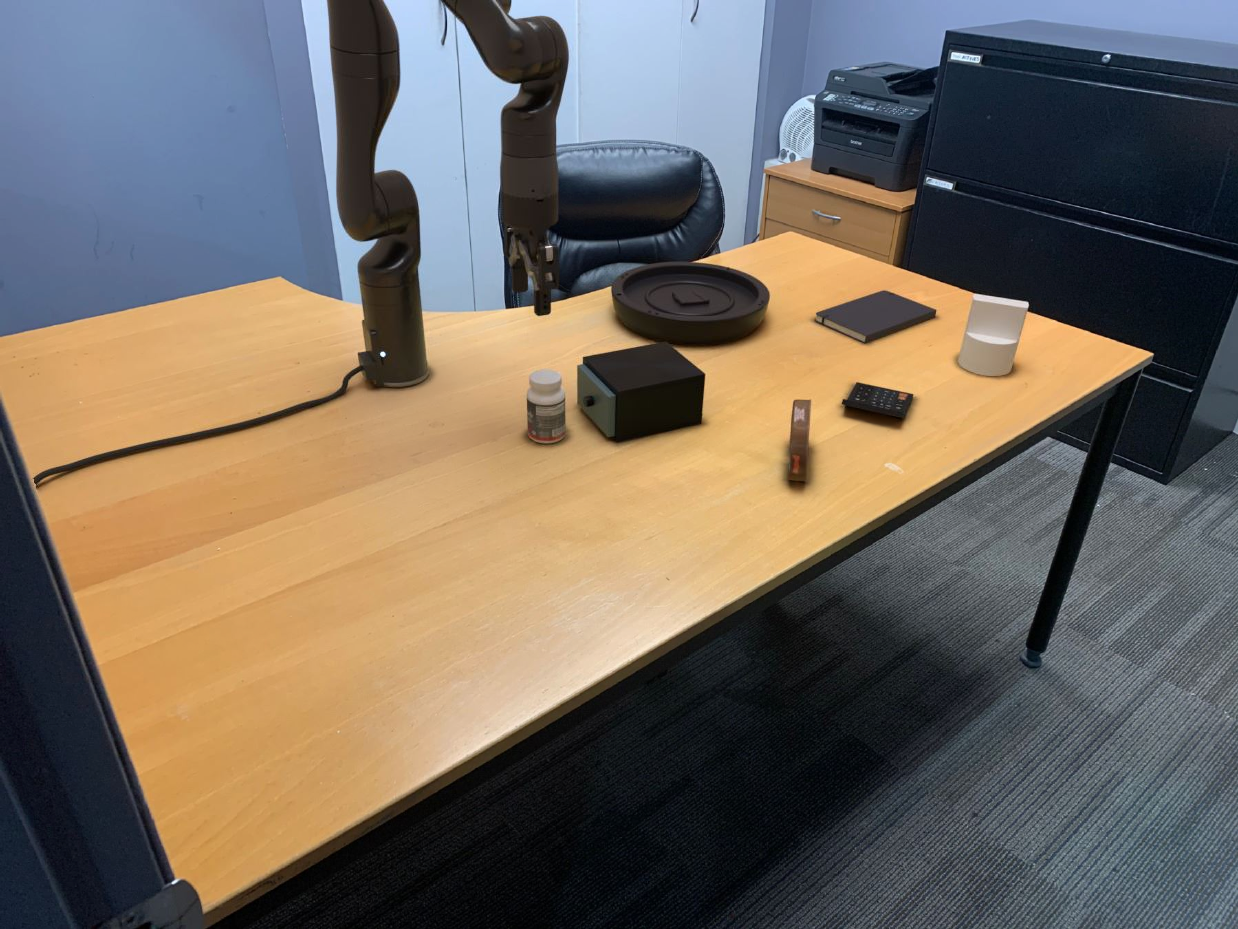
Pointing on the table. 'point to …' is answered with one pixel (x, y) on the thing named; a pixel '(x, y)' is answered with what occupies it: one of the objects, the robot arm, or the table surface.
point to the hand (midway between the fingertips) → (531, 302)
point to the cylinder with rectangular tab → (992, 335)
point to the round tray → (689, 302)
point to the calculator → (879, 400)
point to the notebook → (874, 315)
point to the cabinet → (650, 389)
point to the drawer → (596, 399)
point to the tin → (799, 440)
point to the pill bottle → (546, 407)
